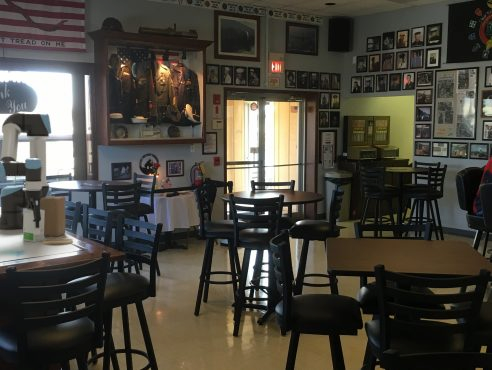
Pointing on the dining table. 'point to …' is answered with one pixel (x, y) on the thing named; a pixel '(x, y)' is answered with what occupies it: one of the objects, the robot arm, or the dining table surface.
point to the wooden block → (53, 215)
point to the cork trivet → (57, 241)
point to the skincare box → (32, 226)
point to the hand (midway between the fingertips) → (33, 232)
